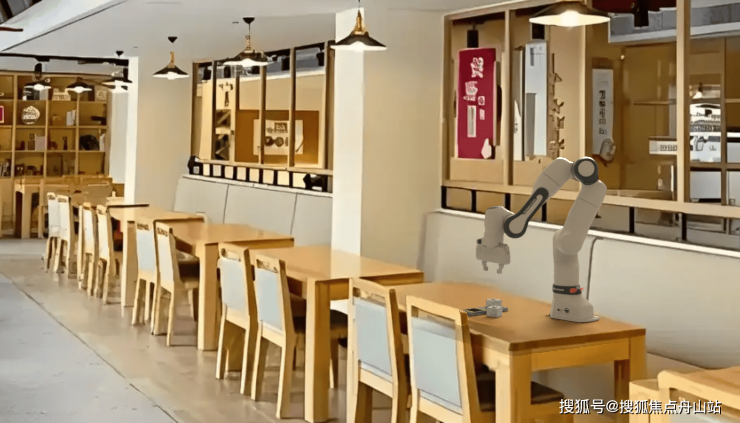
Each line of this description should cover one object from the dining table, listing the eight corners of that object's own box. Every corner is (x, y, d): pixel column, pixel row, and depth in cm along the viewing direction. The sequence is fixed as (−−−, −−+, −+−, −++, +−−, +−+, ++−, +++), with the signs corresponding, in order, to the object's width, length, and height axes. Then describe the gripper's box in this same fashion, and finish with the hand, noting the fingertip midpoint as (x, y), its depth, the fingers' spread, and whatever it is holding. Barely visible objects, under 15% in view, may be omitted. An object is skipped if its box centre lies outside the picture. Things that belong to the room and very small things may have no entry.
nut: (502, 318, 383) (502, 306, 383) (496, 319, 379) (497, 308, 379) (491, 316, 386) (492, 305, 386) (486, 318, 382) (486, 307, 382)
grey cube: (501, 311, 394) (501, 299, 394) (493, 312, 391) (493, 300, 391) (494, 309, 398) (494, 298, 398) (485, 310, 395) (486, 299, 395)
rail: (508, 313, 394) (508, 307, 394) (471, 318, 382) (471, 312, 382) (495, 310, 401) (495, 304, 401) (459, 315, 388) (459, 309, 388)
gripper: (514, 244, 386) (513, 274, 387) (484, 239, 403) (483, 268, 404) (503, 244, 382) (502, 275, 383) (473, 239, 400) (472, 269, 401)
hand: (492, 272), depth 394 cm, fingers open, 8 cm apart
